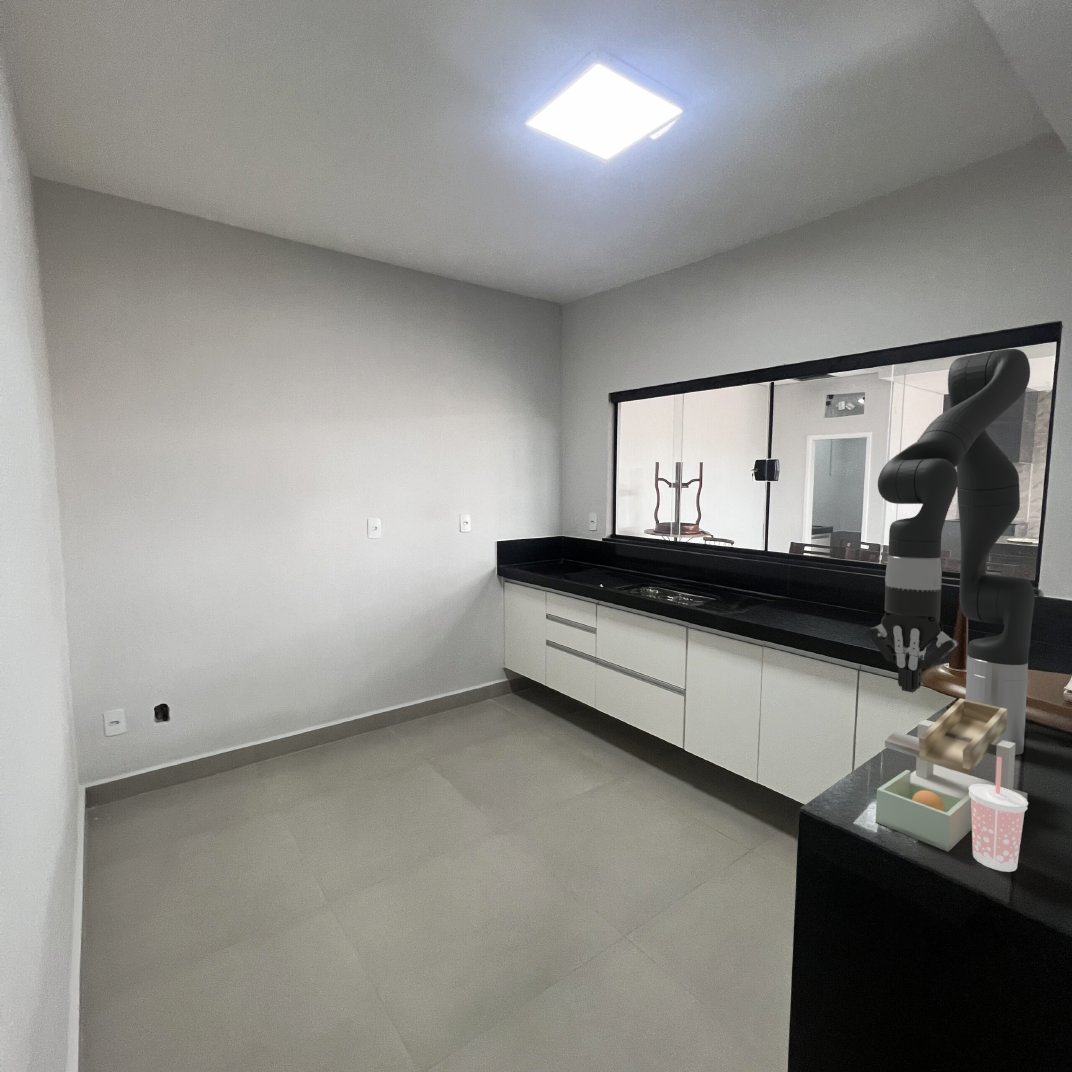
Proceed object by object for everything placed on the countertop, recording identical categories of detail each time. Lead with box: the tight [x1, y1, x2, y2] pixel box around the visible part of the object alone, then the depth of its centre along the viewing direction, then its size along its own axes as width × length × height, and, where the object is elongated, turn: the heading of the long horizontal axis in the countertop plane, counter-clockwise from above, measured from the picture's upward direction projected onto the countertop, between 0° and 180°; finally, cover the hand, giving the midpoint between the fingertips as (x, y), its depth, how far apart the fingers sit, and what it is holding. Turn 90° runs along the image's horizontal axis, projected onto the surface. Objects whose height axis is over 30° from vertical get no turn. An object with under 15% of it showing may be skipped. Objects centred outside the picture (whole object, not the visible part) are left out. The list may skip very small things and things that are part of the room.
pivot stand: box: [910, 719, 1028, 801], centre depth 95 cm, size 12×14×10 cm
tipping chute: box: [884, 698, 1007, 775], centre depth 96 cm, size 18×12×5 cm
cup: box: [875, 769, 972, 853], centre depth 86 cm, size 11×9×5 cm
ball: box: [912, 790, 944, 812], centre depth 86 cm, size 4×4×4 cm
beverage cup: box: [969, 757, 1029, 873], centre depth 77 cm, size 6×6×14 cm
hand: (908, 690), depth 95 cm, fingers closed
